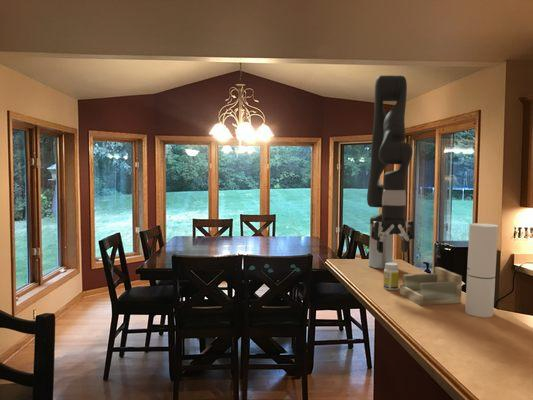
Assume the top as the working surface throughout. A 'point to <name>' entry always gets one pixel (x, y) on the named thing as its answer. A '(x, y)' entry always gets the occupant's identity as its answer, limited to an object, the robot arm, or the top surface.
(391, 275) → the supplement bottle
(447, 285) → the open rectangular tray
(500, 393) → the top surface
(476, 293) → the cylindrical container
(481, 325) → the top surface
